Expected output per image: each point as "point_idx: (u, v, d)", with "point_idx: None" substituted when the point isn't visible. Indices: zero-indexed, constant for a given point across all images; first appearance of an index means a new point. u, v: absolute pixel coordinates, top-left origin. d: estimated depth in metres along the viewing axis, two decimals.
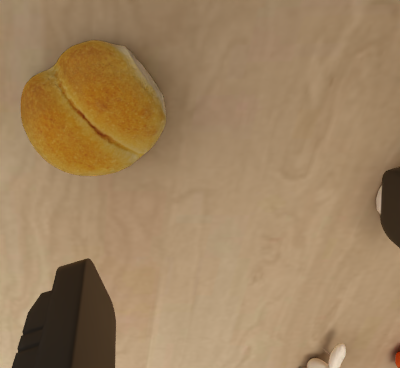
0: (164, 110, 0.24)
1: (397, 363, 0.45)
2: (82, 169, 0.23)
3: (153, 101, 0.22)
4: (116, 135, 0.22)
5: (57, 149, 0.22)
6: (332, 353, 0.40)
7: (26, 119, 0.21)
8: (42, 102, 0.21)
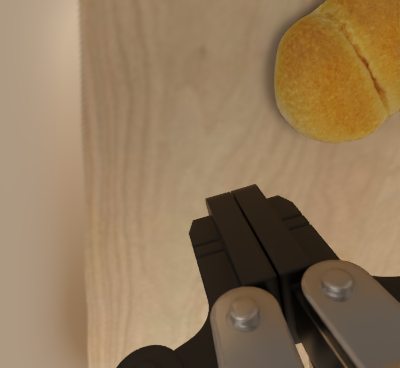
0: None
1: None
2: (344, 132, 0.19)
3: None
4: (394, 89, 0.19)
5: (332, 107, 0.18)
6: None
7: (297, 72, 0.18)
8: (325, 49, 0.17)
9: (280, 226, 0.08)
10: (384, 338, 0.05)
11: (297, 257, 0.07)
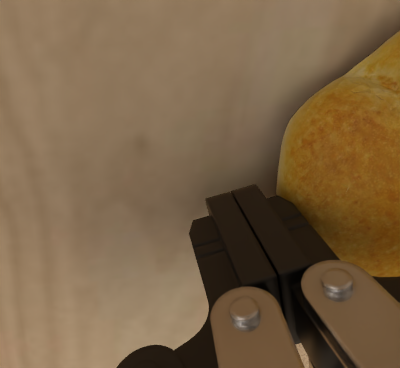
0: None
1: None
2: None
3: None
4: None
5: (394, 263, 0.09)
6: None
7: (323, 198, 0.09)
8: (384, 158, 0.08)
9: (280, 226, 0.08)
10: (384, 338, 0.05)
11: (297, 257, 0.07)
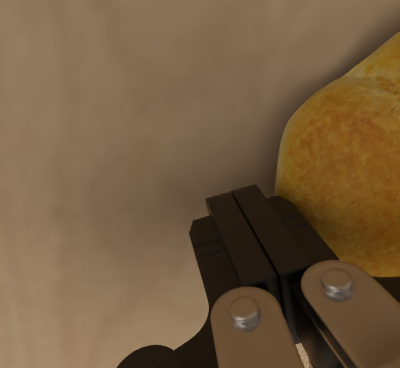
0: None
1: None
2: None
3: None
4: None
5: (391, 263, 0.09)
6: None
7: (321, 198, 0.09)
8: (381, 159, 0.08)
9: (280, 226, 0.08)
10: (384, 338, 0.05)
11: (297, 257, 0.07)
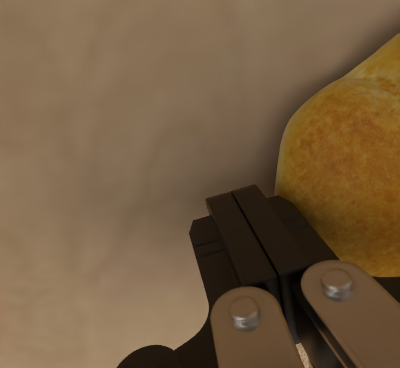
0: None
1: None
2: None
3: None
4: None
5: (390, 263, 0.09)
6: None
7: (321, 198, 0.09)
8: (381, 160, 0.08)
9: (280, 226, 0.08)
10: (384, 338, 0.05)
11: (297, 257, 0.07)
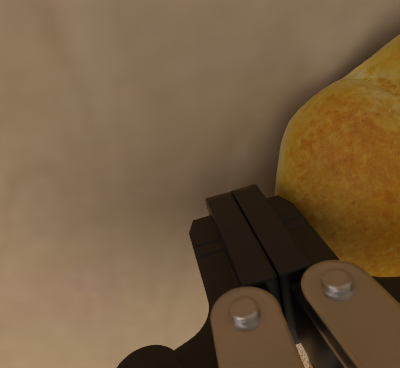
0: None
1: None
2: None
3: None
4: None
5: (390, 264, 0.09)
6: None
7: (321, 198, 0.09)
8: (382, 160, 0.08)
9: (280, 226, 0.08)
10: (384, 338, 0.05)
11: (297, 257, 0.07)
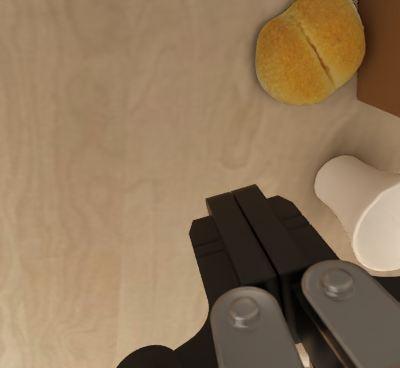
0: None
1: None
2: (302, 96, 0.29)
3: (364, 38, 0.28)
4: (335, 67, 0.28)
5: (292, 77, 0.27)
6: None
7: (269, 53, 0.27)
8: (287, 38, 0.26)
9: (280, 226, 0.08)
10: (384, 338, 0.05)
11: (297, 257, 0.07)
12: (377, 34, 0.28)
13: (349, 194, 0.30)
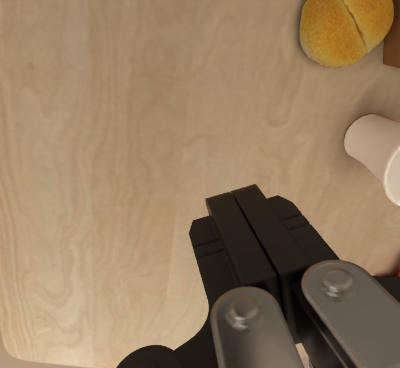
0: None
1: None
2: (340, 58, 0.34)
3: (393, 7, 0.33)
4: (368, 32, 0.33)
5: (333, 40, 0.32)
6: None
7: (314, 20, 0.32)
8: (329, 6, 0.32)
9: (280, 226, 0.08)
10: (384, 338, 0.05)
11: (297, 257, 0.07)
12: None
13: (379, 142, 0.35)
